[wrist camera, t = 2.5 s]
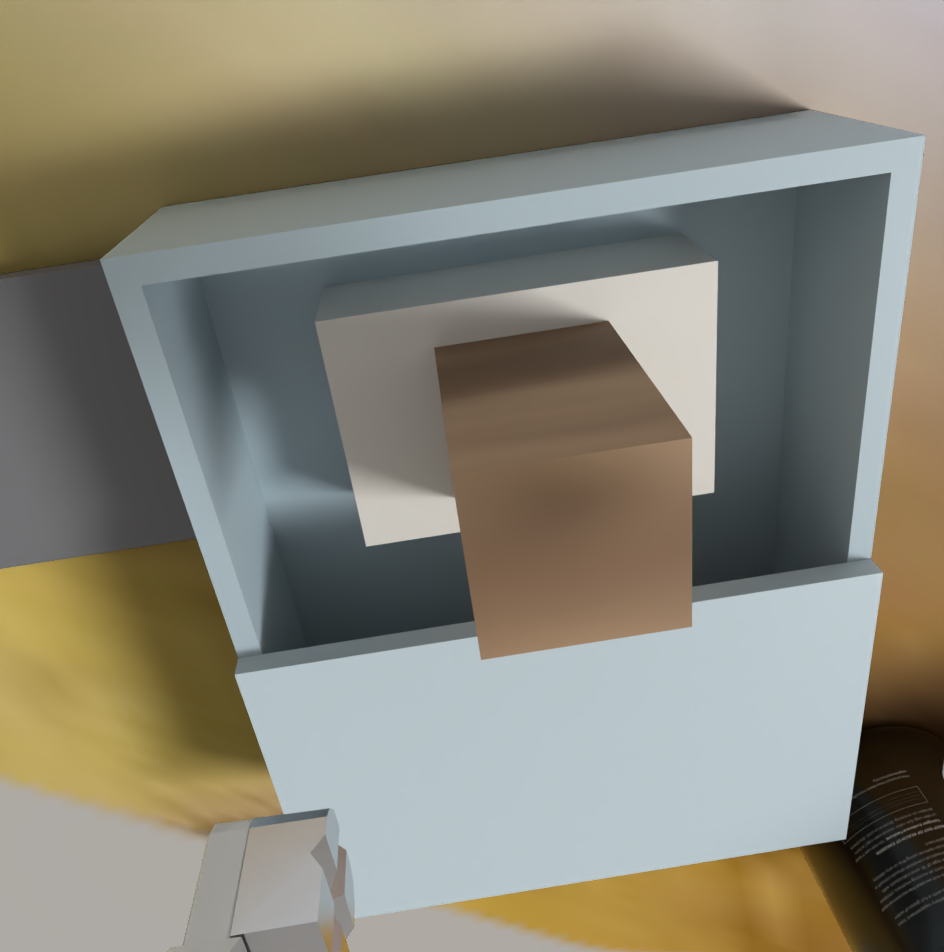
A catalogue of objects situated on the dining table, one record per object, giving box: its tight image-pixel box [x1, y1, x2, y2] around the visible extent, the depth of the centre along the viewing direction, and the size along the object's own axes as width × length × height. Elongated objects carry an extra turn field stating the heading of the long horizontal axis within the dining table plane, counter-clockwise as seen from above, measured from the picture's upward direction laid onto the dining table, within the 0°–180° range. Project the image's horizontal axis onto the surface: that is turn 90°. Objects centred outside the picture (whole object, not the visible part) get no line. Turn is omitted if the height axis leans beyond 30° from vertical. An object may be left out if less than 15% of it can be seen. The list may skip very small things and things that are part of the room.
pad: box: [0, 259, 196, 569], centre depth 22 cm, size 8×8×1 cm
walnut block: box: [434, 321, 692, 660], centre depth 17 cm, size 4×4×6 cm
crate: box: [100, 110, 926, 919], centre depth 23 cm, size 20×16×6 cm
